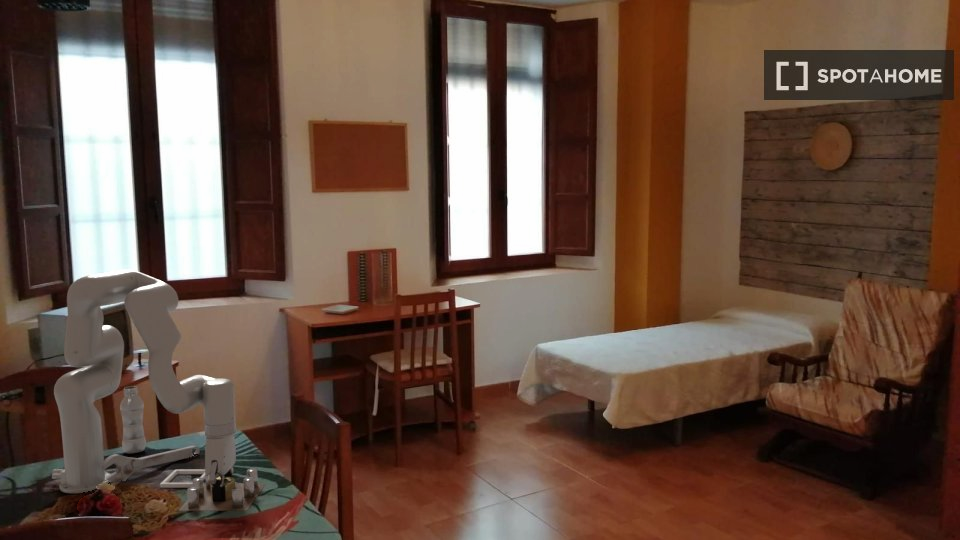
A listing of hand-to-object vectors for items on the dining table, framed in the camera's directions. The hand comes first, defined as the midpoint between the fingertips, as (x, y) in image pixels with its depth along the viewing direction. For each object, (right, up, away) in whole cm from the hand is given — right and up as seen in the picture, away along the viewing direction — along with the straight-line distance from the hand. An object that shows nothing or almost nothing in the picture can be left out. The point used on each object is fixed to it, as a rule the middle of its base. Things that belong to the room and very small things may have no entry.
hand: (223, 495), depth 194 cm
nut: (0, 0, 0) cm, 0 cm away
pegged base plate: (0, 0, 0) cm, 0 cm away
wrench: (-27, +1, +21) cm, 34 cm away
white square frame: (-14, 0, +11) cm, 17 cm away
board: (0, -1, 0) cm, 1 cm away
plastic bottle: (-39, +3, +34) cm, 52 cm away
